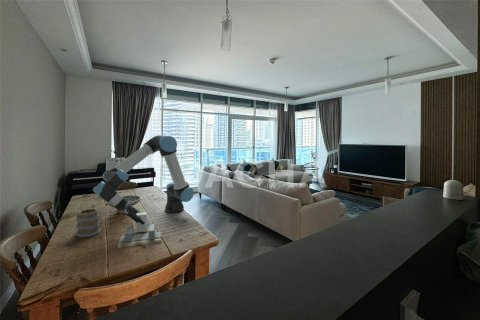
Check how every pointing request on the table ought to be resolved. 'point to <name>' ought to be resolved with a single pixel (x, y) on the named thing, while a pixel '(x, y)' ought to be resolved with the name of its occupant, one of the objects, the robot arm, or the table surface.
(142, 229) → the block
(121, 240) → the mounting board
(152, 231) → the mounted modules
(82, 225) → the tankard
